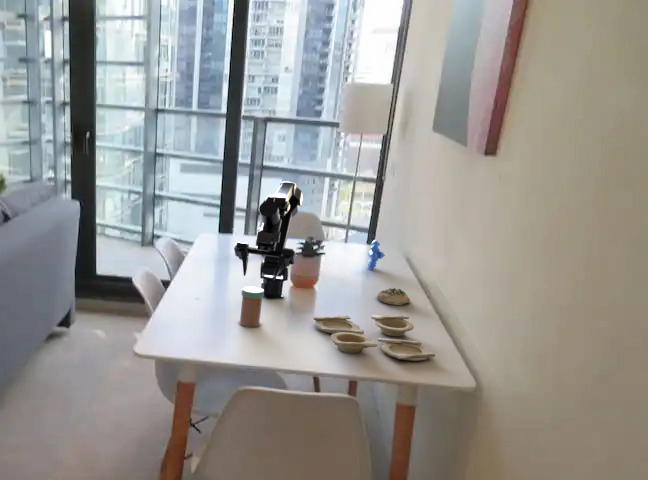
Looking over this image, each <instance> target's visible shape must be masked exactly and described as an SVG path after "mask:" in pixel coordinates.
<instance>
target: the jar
mask: <svg viewBox="0 0 648 480" xmlns="http://www.w3.org/2000/svg"><path fill="white" fill-rule="evenodd" d="M262 304H263V298H260V299H251V298H246V297H243V296H242V295H241V307H240V317H239V325H241V326H243V327H246V328H257V327H259V326H260V321H261V313H262V312H261V311H262Z"/></svg>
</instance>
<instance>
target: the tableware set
mask: <svg viewBox="0 0 648 480" xmlns="http://www.w3.org/2000/svg"><path fill="white" fill-rule="evenodd" d="M351 319H352V317H350V316H349V315H347V314H340V315H337V316H314V317H313V318H312V320H313V321H315V322H314V326H315V327H316V328H317V329H318V330H320V331H322V332H324V333H328V334H331V335H330V337H329V338H330V339H329V340H330V341H331V342H332V343H333V344H334V345H335V346H337V349H338V350H340V351H342V352H344V353H350V354H358V353H361V352H362V351H363V350H364V349H367V348H377V347H378V343H377V342H374V341H372V340H371V338H369V337H368V336H366V335H364V333H365V331H364V330H363V329H360V325H359V324H357V323H356V322H354V321H351ZM370 319H372V320H374V321H373V323H374V325H376V327H377V328H379V329H380V332H381V333H382V334H383V335H386V336H389V337H402V336H404V335H405V334H406V333H407V332H410V331H412V330H414V326H415V325H414V324H413V323H412V322H410V321H408V320H409V319H410V316H409V315H380V314H373V315H371V316H370ZM377 341H378V342H380V343H384V344H382V346H381V351H382V352H383V353H384V354H386V355H387V356H389V357H392V358H395V359H398V360H403V361H404V360H405V361H411V362H412V361H413V362H415V361H416V362H417V361H424V360H427V359H429V358H434V357H436V354H435V353H434V352H431V351H430V350H429V349H428V348H426V347H424V346H422V342H421V341H418V340H417V341H416V340H406V339H399V338H398V339H395V338H383V337H378V339H377Z"/></svg>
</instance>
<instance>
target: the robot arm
mask: <svg viewBox="0 0 648 480" xmlns="http://www.w3.org/2000/svg"><path fill="white" fill-rule="evenodd" d="M303 199H304V197H303V191H302V189H300V188H299V187H298V186H297V183H295V182H292V181H281V182H280V184H279V187H278V188H277V190H276V192H275V193H273V194H269V195H267V196H266V198H265V199H264V200H263V201H262V202H261V204H260V205H259V206H258V207H259V208H258V211H259V215H260V220H261V223H262V224H261V226H262V228H261V231H260V232H259V231H257V234H256V239H255V246H256V247H252V246H251V247H250V245H249V242H244V241H237V242H235V243H234V247H233V251H234V255H235V257H237V258H238V259H239V260H241V261H242V271H243V276H244V277H246V274H247V270H248V266H249V265H248V264H249V255H256V256H262V255H263V256H262V257H264V258H263V260H262V261H261V264H260V276H259V277H260V278H259V279H262V281H261V285H260V288H262V289H263V290H264V297H263V298H266V299H284V297H285V296H284V295H283V289H284V288H283V287H284V282H287V281H288V279H289V268H288V267H290V266H291V265H292V266H293V265H295V262H296V250H295V249H294V248H290V247H289V248H287V247H286V245H287V240H288V237H289V232H290V228H291V224H292V220H293V217H294V216H296V215H297V214H298V213H299V209H300V207H302V204H303Z"/></svg>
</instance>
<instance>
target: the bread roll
mask: <svg viewBox="0 0 648 480" xmlns="http://www.w3.org/2000/svg"><path fill="white" fill-rule="evenodd" d="M377 299H378V300H379V301H380V302H382V303H384V304H389V305H397V306H402V305H405V304H408V303H410V302H411V299H410V297H409V296H408V294H406V292H405V291H404V290H402V289H401V288H398V289H397V288H396V287H393V288H391V287H388V289H384V290H381V291H380V292H379V293H377Z"/></svg>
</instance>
